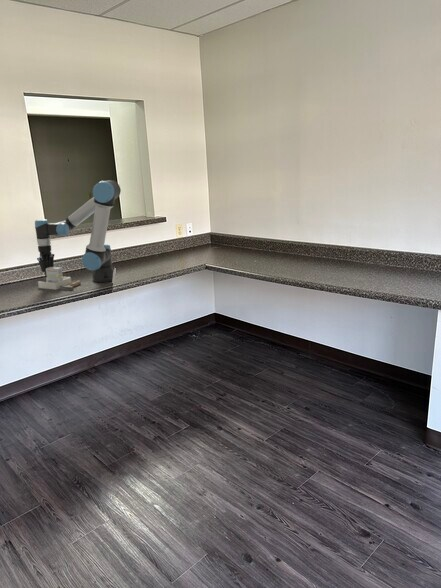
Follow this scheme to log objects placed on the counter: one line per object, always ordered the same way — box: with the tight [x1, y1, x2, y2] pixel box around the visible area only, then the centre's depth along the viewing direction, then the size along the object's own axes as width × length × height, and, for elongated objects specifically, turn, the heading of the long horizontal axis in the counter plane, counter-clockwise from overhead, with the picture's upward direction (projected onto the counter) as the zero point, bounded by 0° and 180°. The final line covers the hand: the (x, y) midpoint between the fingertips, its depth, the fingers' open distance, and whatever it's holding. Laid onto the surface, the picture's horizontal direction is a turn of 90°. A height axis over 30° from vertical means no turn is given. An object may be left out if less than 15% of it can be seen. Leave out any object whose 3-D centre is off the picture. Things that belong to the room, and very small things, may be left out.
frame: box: [37, 276, 73, 291], centre depth 278 cm, size 13×15×4 cm
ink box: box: [46, 266, 64, 283], centre depth 275 cm, size 9×5×12 cm, turn 78°
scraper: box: [59, 280, 82, 291], centre depth 274 cm, size 13×8×2 cm, turn 159°
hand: (49, 281), depth 280 cm, fingers closed
